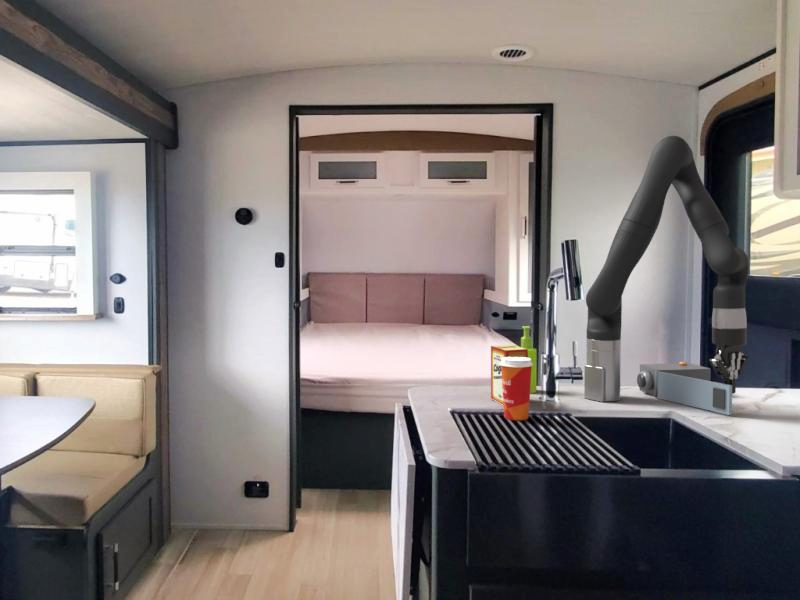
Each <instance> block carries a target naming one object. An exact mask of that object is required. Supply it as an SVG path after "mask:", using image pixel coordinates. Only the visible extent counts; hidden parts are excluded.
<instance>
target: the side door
mask: <svg viewBox="0 0 800 600" xmlns="http://www.w3.org/2000/svg"><path fill="white" fill-rule="evenodd" d="M654 398H656V399H662V400H666V401H668V402H669V401H670V402H673V403H678V404H682V405H686V406H690V407H695V408H698V409H702V410H707V411H710V412H715V413H717V414H719V413H720V414H724V415H728V416H731V415H732V414H733V413H732V412H733V411H732V409H733V407H732V406H733V394H732V385H727V384H723V383H722V382H717V381H706V380H701V379H696V378H691V377H686V376H680V375H675V374H670V373H665V372H660V371H655V396H654Z"/></svg>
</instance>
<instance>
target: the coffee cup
mask: <svg viewBox="0 0 800 600" xmlns="http://www.w3.org/2000/svg"><path fill="white" fill-rule="evenodd" d="M500 365H501V372H502V389H503V405H504V406H503V415H504V417H503V418H504V419H506V420H509V421H526V420H528V419H529V414H530V403H531V402H530V401H531V400H530V399H531V393H530V386H531V368H532V366H533V363H532V362H531V359H530V358H526V357H504V358H502V359H501V363H500Z"/></svg>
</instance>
